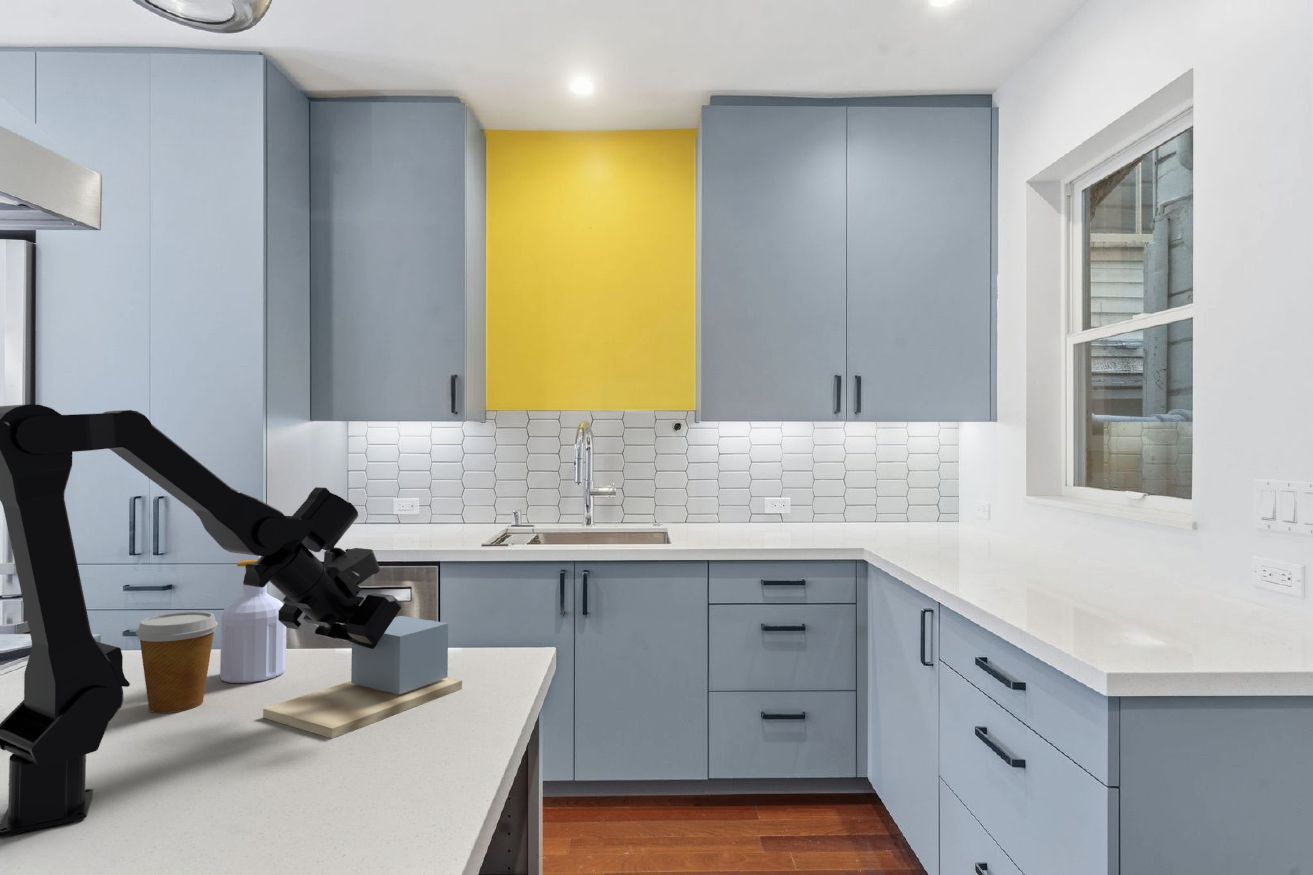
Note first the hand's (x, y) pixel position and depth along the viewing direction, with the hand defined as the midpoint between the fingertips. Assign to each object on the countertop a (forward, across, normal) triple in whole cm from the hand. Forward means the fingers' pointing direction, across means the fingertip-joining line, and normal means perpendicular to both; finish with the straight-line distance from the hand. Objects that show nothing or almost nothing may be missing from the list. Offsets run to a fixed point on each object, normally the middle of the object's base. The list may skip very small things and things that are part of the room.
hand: (373, 645), depth 103 cm
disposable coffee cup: (-5, +22, +16) cm, 28 cm away
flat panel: (+5, 0, +6) cm, 8 cm away
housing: (+8, 0, +1) cm, 8 cm away
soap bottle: (+5, +26, +7) cm, 27 cm away
